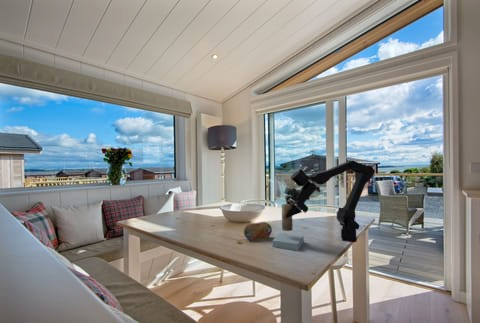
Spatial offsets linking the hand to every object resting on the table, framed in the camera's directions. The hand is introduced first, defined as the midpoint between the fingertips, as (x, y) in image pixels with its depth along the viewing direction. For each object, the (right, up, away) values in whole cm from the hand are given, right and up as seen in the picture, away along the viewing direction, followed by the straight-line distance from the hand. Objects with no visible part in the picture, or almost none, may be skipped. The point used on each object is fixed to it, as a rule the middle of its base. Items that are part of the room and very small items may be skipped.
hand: (284, 216), depth 114 cm
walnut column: (+2, -7, 0) cm, 7 cm away
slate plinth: (+2, -13, -1) cm, 14 cm away
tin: (-12, -14, +8) cm, 20 cm away
